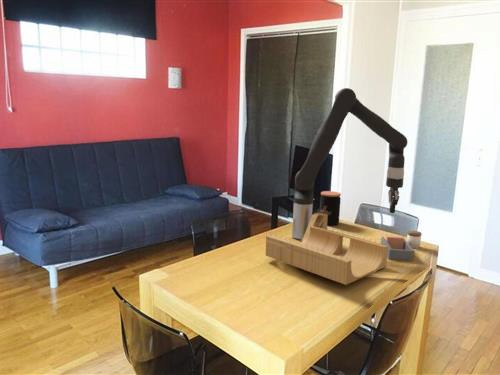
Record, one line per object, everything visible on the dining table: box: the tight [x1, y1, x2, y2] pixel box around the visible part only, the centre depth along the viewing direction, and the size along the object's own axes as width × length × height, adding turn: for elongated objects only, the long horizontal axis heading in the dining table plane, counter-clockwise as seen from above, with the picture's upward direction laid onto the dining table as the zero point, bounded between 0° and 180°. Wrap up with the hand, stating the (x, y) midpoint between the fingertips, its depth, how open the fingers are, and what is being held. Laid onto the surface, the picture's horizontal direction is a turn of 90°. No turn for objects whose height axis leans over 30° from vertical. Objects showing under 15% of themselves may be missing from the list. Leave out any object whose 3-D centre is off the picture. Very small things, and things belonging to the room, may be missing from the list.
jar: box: [406, 230, 422, 250], centre depth 203 cm, size 6×6×7 cm
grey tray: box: [380, 236, 415, 262], centre depth 193 cm, size 10×19×4 cm, turn 174°
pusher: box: [385, 235, 405, 250], centre depth 197 cm, size 7×2×5 cm, turn 84°
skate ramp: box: [265, 208, 388, 286], centre depth 180 cm, size 40×35×16 cm
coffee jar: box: [319, 190, 342, 227], centre depth 235 cm, size 11×11×18 cm
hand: (392, 212), depth 206 cm, fingers closed
